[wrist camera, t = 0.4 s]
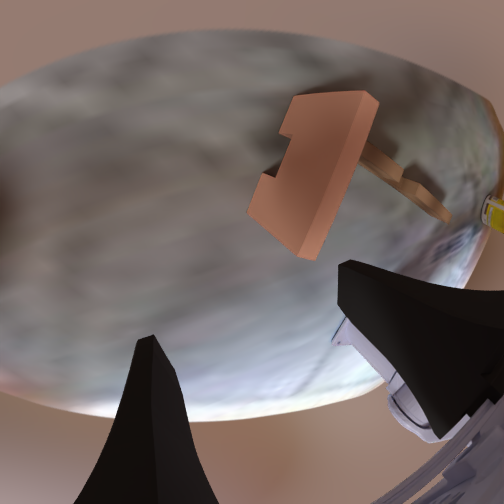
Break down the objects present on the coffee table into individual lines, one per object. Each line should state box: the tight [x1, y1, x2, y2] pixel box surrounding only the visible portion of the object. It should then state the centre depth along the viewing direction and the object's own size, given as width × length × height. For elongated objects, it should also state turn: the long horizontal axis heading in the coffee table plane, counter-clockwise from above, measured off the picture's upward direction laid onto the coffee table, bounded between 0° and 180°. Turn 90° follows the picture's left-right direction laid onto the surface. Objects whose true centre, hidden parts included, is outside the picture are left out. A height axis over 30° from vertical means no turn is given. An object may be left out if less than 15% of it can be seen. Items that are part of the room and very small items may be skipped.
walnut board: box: [358, 140, 452, 224], centre depth 22 cm, size 20×1×3 cm, turn 66°
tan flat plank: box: [247, 90, 379, 261], centre depth 15 cm, size 9×1×7 cm, turn 156°
